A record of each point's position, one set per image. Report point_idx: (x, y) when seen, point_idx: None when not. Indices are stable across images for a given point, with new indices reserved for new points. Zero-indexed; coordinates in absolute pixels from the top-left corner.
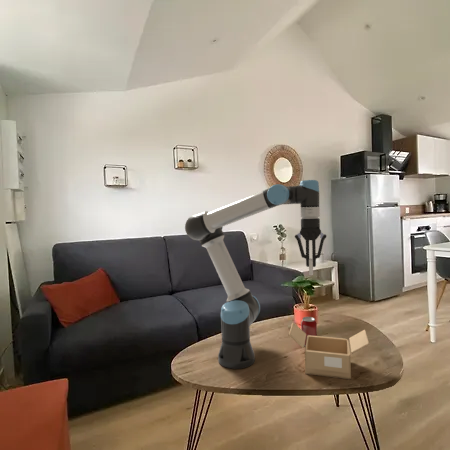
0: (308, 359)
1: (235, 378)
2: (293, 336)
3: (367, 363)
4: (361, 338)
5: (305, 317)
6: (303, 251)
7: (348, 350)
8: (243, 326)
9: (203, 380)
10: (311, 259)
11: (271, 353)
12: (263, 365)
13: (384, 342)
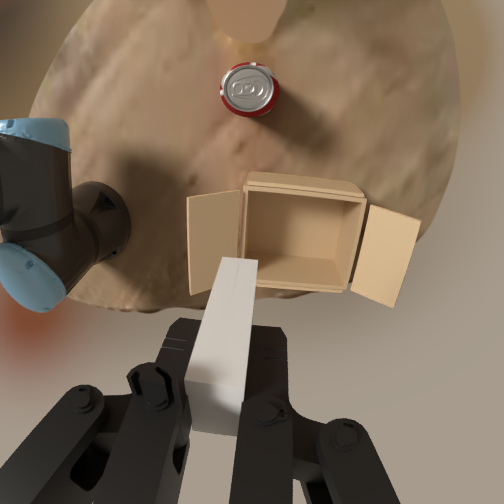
0: None
1: (121, 284)
2: (203, 283)
3: (390, 188)
4: (393, 260)
5: (235, 70)
6: (69, 467)
7: (348, 267)
8: (73, 285)
9: (83, 294)
10: (225, 431)
11: (156, 170)
12: (152, 232)
13: (452, 74)
